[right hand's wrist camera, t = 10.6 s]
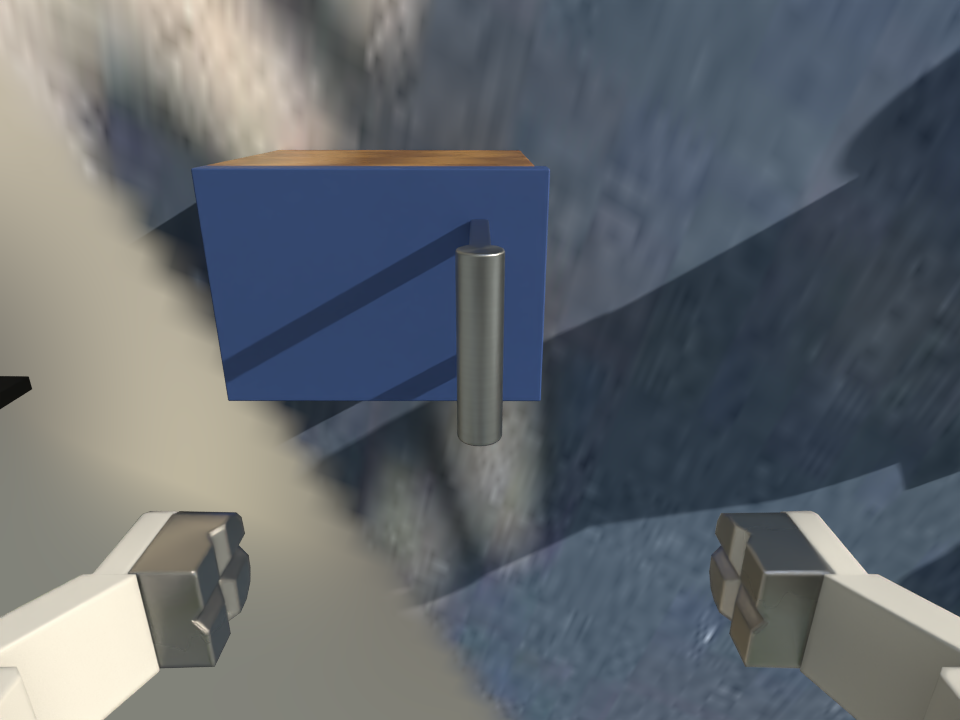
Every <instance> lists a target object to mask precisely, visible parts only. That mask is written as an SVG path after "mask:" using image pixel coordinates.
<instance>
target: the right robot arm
mask: <svg viewBox="0 0 960 720" xmlns="http://www.w3.org/2000/svg"><path fill="white" fill-rule="evenodd" d="M244 534H245V532H244V527H243V522H242V517H241V516H240V515H239V514H237V513H234V512H189V511H179V512H176V511H150V512H147V513H144V514H142V515H141V516H140V518H139V519H138V520H137V521H136V522H135V524H134V525H133V526H132V527H131V528H130V529H129V531H128V532H127V533H126V534H125V535H124V537H123V538H122V539H121V540H120V541H119V543H118V544H117V545H116V546H115V547H114V548H113V550H112V551H111V552H110V553H109V554H108V556H107V557H106V558H105V559H104V560H103V562H102V563H101V564H100V565H99V566H98V568H97V569H96V570H95V571H94V572H93V573H92V574H82V575H80V576H78V577H76V578H74V579H72V580H71V581H68V582H67V583H65V584H63V585H61V586H59V587H57V588H55V589H53V590H51V591H49V592H47V593H45V594H44V595H42V596H40V597H38V598H36V599H34V600H32V601H30V602H28V603H26V604H24V605H23V606H20V607H19V608H17V609H15V610H13V611H11V612H9V613H7V614H5V615H3V616H1V617H0V720H104V719H105V718H106V717H107V716H108V715H109V714H111V713H112V712H113V711H114V710H115V709H116V708H118V707H119V706H120V705H121V704H122V703H123V702H125V701H126V700H127V699H128V698H129V697H130V696H131V695H133V694H134V693H135V692H136V691H137V690H138V689H140V688H141V687H142V686H143V685H144V684H145V683H147V682H148V681H149V680H150V679H151V678H152V677H154V676H155V675H156V674H157V673H158V672H159V671H160V669H159V668H184V667H214V666H215V665H216V663H217V661H218V659H219V656H220V654H221V652H222V650H223V648H224V646H225V644H226V642H227V640H228V638H229V636H230V627H229V622H228V621H229V620H231V619H232V618H233V617H235V616H236V615H238V614H239V613H240V612H241V610H242V608H243V606H244V604H245V601H246V599H247V595H248V590H249V585H250V562H249V555H248V554H247V553H246V552H245V551H244V550H243V549H242V548H241V547H240V546H239V543H240V542H241V540H242V538H243V536H244ZM715 534H716V536H717V538H718V540H719V542H720V543H721V546H720V547H719V548H718V549H717V550H716V551H715V552H714V553H713V554H712V555H711V563H710V570H709V574H710V586H711V591H712V595H713V598H714V602H715V604H716V606H717V608H718V610H719V612H720V613H721V614H722V615H724V616H725V617H727V618H728V619H729V620H731V621H732V622H731V627H730V633H729V634H730V636H731V638H732V640H733V642H734V644H735V646H736V648H737V650H738V652H739V654H740V656H741V658H742V660H743V663H744V665H745V667H775V668H801V669H800V671H801V672H802V673H803V674H804V675H806V676H807V677H808V678H809V679H810V680H811V681H812V682H814V683H815V684H816V685H817V686H818V687H819V688H821V689H822V690H823V691H824V692H825V693H826V694H828V695H829V696H830V697H831V698H832V699H833V700H835V701H836V702H837V703H838V704H839V705H840V706H842V707H843V708H844V709H845V710H846V711H847V712H849V713H850V714H851V715H852V716H853V717H854V718H855V719H857V720H960V617H958V616H957V615H955V614H953V613H951V612H949V611H947V610H945V609H943V608H941V607H939V606H937V605H936V604H934V603H932V602H930V601H928V600H926V599H924V598H922V597H920V596H918V595H916V594H914V593H913V592H911V591H909V590H907V589H905V588H903V587H901V586H899V585H897V584H895V583H893V582H891V581H890V580H888V579H886V578H884V577H882V576H880V575H878V574H867V572H866V571H865V570H864V569H863V568H862V566H861V565H860V564H859V563H858V562H857V560H856V559H855V558H854V557H853V556H852V555H851V553H850V552H849V551H848V550H847V549H846V547H845V546H844V545H843V544H842V543H841V541H840V540H839V539H838V538H837V537H836V535H835V534H834V533H833V532H832V531H831V530H830V528H829V527H828V526H827V525H826V524H825V522H824V521H823V520H822V519H821V518H820V516H819V515H818V514H816V513H814V512H812V511H789V512H780V513H721V515H720V517H719V519H718V521H717V526H716V531H715Z"/></svg>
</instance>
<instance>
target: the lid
mask: <svg viewBox="0 0 960 720" xmlns="http://www.w3.org/2000/svg"><path fill="white" fill-rule="evenodd" d="M191 172H192V178H193V184H194V191H195V197H196V203H197V209H198V215H199V222H200V228H201V234H202V240H203V246H204V253H205V259H206V265H207V271H208V278H209V284H210V290H211V296H212V302H213V309H214V315H215V321H216V327H217V333H218V340H219V346H220V352H221V358H222V364H223V371H224V377H225V383H226V389H227V395H228V400H229V401H457V432H458V437H459V439H460V440H461V441H462V442H464V443H466V444H468V445H473V446H487V445H491V444H494V443H496V442H498V441H499V440H500V438H501V436H502V403H503V401H540V400H541V377H542V353H543V329H544V305H545V281H546V256H547V232H548V208H549V184H550V169H549V168H547V167H546V166H201V167H196V168H192V169H191Z"/></svg>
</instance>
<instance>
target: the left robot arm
mask: <svg viewBox="0 0 960 720" xmlns="http://www.w3.org/2000/svg"><path fill="white" fill-rule="evenodd" d="M31 389H32V387H31V383H30V380H29V377H24V376H0V409H1V408H3V407H4V406H6V405H8V404H9V403H11V402H12V401H14V400H16V399H17V398H19V397H20V396H22V395H24V394H25V393H27V392H28V391H30V390H31Z"/></svg>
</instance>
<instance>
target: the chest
mask: <svg viewBox="0 0 960 720" xmlns="http://www.w3.org/2000/svg"><path fill="white" fill-rule="evenodd" d="M207 166H534V165H533V164H532V163H531V162H530V161H529V160H528V159H527V158H526V157H525V156H524V155H523V154H522V153H521V151H503V150H277V151H273V152H268V153H263V154H258V155H254V156H249V157H244V158H239V159H235V160H230V161H225V162H220V163H216V164H211V165H207Z"/></svg>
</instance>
